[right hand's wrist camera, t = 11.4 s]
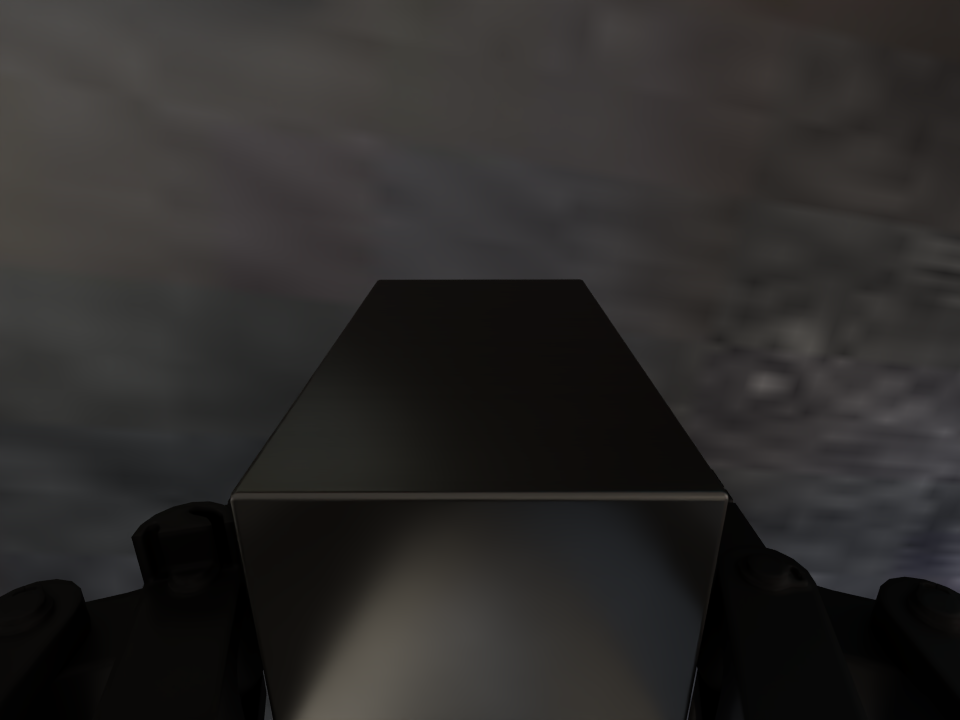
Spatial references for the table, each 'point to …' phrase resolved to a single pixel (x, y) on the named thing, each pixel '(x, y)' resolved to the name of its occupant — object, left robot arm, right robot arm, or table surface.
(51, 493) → the table surface
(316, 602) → the bar
